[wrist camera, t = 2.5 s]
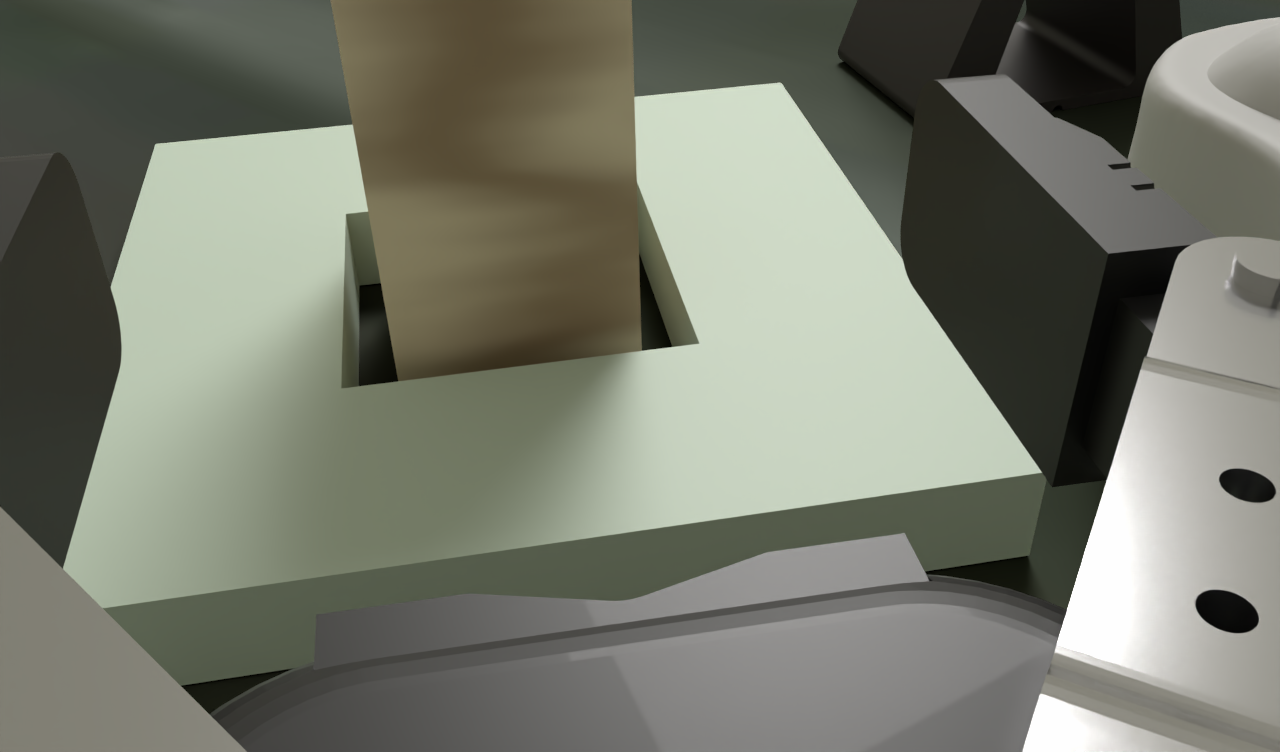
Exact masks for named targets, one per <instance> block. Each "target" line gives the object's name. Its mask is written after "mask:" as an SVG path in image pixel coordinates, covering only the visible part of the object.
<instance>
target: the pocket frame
mask: <svg viewBox="0 0 1280 752" xmlns="http://www.w3.org/2000/svg"><path fill="white" fill-rule="evenodd" d="M634 102H635V136H636V171H637V205H638V239H639V254H640V257H641V259H642V262H643V265H644V268H645V271H646V274H647V276H648V279H649V282H650V285H651V288H652V291H653V293H654V296H655V299H656V302H657V305H658V307H659V310H660V313H661V316H662V319H663V322H664V324H665V327H666V330H667V333H668V336H669V339H670V341H671V344H672V347H669V348H661V349H653V350H645V351H637V352H629V353H621V354H613V355H605V356H597V357H589V358H581V359H573V360H565V361H557V362H549V363H541V364H533V365H525V366H517V367H509V368H501V369H493V370H486V371H478V372H470V373H462V374H454V375H446V376H438V377H430V378H422V379H414V380H406V381H398V382H390V383H382V384H374V385H366V386H359V286H360V285H369V284H378V283H381V281H380V275H379V270H378V264H377V258H376V253H375V247H374V242H373V236H372V230H371V225H370V219H369V213H368V208H367V202H366V196H365V191H364V185H363V180H362V174H361V168H360V163H359V157H358V151H357V146H356V140H355V134H354V129H353V125H345V126H335V127H325V128H315V129H304V130H294V131H284V132H274V133H264V134H253V135H243V136H233V137H223V138H213V139H203V140H192V141H182V142H172V143H162V144H156V145H155V148H154V151H153V154H152V157H151V161H150V164H149V167H148V170H147V173H146V177H145V180H144V183H143V186H142V189H141V192H140V196H139V199H138V202H137V205H136V208H135V211H134V215H133V218H132V221H131V224H130V227H129V231H128V234H127V237H126V240H125V243H124V246H123V250H122V253H121V256H120V259H119V262H118V265H117V269H116V272H115V275H114V278H113V281H112V285H111V291H112V294H113V297H114V301H115V304H116V308H117V313H118V318H119V324H120V331H121V346H122V353H121V365H120V370H119V374H118V378H117V381H116V385H115V388H114V392H113V395H112V399H111V402H110V406H109V409H108V413H107V416H106V420H105V423H104V427H103V430H102V434H101V437H100V441H99V444H98V448H97V451H96V455H95V458H94V462H93V465H92V469H91V472H90V476H89V479H88V483H87V486H86V490H85V493H84V497H83V500H82V504H81V507H80V511H79V514H78V518H77V521H76V525H75V528H74V532H73V535H72V539H71V542H70V546H69V549H68V553H67V556H66V560H65V563H64V567H63V570H64V571H66V572H67V573H68V574H69V575H70V576H71V577H72V578H73V579H74V580H75V581H76V582H77V583H78V584H79V585H80V586H81V587H82V588H83V589H84V590H85V591H86V592H87V593H88V594H89V595H90V596H91V597H92V598H93V599H94V600H95V601H96V602H97V603H98V604H99V605H100V606H101V607H102V608H103V609H104V610H105V611H106V612H107V613H108V614H109V615H110V616H111V617H112V618H113V619H114V620H115V621H116V622H117V623H118V624H119V625H120V626H121V627H122V628H123V629H124V630H125V631H126V632H127V633H128V634H129V635H130V636H131V637H132V638H133V639H134V640H135V641H136V642H137V643H138V644H139V645H140V646H141V647H142V648H143V649H144V650H145V651H146V652H147V653H148V654H149V655H150V656H151V657H152V658H153V659H154V660H155V661H156V662H157V663H158V664H159V665H160V666H161V667H162V668H163V669H164V670H165V671H166V672H167V673H168V674H169V675H170V676H171V677H172V678H173V679H174V680H175V681H176V682H177V683H178V684H179V685H180V686H182V685H188V684H195V683H201V682H208V681H214V680H221V679H227V678H234V677H240V676H247V675H253V674H260V673H266V672H273V671H279V670H286V669H292V668H297V667H299V666H302V665H305V664H308V663H310V662H313V661H314V652H315V631H316V614H323V613H330V612H338V611H345V610H352V609H359V608H367V607H374V606H381V605H388V604H395V603H403V602H410V601H417V600H424V599H432V598H439V597H446V596H453V595H461V594H468V593H469V594H488V595H508V596H527V597H547V598H566V599H586V600H605V601H622V600H629V599H634V598H638V597H642V596H645V595H647V594H650V593H653V592H656V591H659V590H662V589H664V588H667V587H670V586H673V585H676V584H679V583H681V582H684V581H687V580H690V579H693V578H696V577H698V576H701V575H704V574H707V573H710V572H712V571H715V570H718V569H721V568H724V567H727V566H729V565H732V564H735V563H738V562H741V561H744V560H746V559H749V558H752V557H755V556H758V555H761V554H763V553H766V552H772V551H779V550H786V549H794V548H801V547H808V546H815V545H823V544H830V543H837V542H844V541H851V540H859V539H866V538H873V537H880V536H888V535H895V534H902V533H905V535H906V537H907V539H908V541H909V542H910V544H911V546H912V548H913V550H914V552H915V554H916V556H917V558H918V560H919V562H920V564H921V566H922V567H923V569H924V571H931V570H937V569H944V568H950V567H957V566H964V565H970V564H977V563H983V562H990V561H996V560H1003V559H1009V558H1016V557H1022V556H1029V554H1030V550H1031V545H1032V541H1033V537H1034V532H1035V528H1036V523H1037V519H1038V515H1039V510H1040V506H1041V502H1042V497H1043V493H1044V488H1045V484H1046V480H1047V479H1046V478H1045V476H1044V475H1043V473H1042V472H1041V470H1040V469H1039V468H1038V466H1037V465H1036V463H1035V462H1034V460H1033V459H1032V457H1031V456H1030V455H1029V453H1028V452H1027V450H1026V449H1025V447H1024V446H1023V445H1022V443H1021V442H1020V440H1019V439H1018V437H1017V436H1016V434H1015V433H1014V432H1013V430H1012V429H1011V427H1010V426H1009V424H1008V423H1007V422H1006V420H1005V419H1004V417H1003V416H1002V414H1001V413H1000V411H999V410H998V409H997V407H996V406H995V404H994V403H993V401H992V400H991V399H990V397H989V396H988V394H987V393H986V391H985V390H984V388H983V387H982V386H981V384H980V383H979V381H978V380H977V378H976V377H975V376H974V374H973V373H972V371H971V370H970V368H969V367H968V365H967V364H966V363H965V361H964V360H963V358H962V357H961V355H960V354H959V353H958V351H957V350H956V348H955V347H954V345H953V344H952V342H951V341H950V340H949V338H948V337H947V335H946V334H945V332H944V331H943V330H942V328H941V327H940V325H939V324H938V322H937V321H936V319H935V318H934V317H933V315H932V314H931V312H930V311H929V309H928V308H927V307H926V305H925V304H924V302H923V301H922V299H921V298H920V296H919V295H918V294H917V292H916V291H915V289H914V288H913V286H912V285H911V283H910V281H909V279H908V276H907V273H906V270H905V267H904V263H903V260H902V258H901V257H900V255H899V254H898V252H897V251H896V249H895V248H894V247H893V245H892V244H891V242H890V241H889V239H888V238H887V236H886V235H885V233H884V232H883V231H882V229H881V228H880V226H879V225H878V223H877V222H876V220H875V219H874V217H873V216H872V215H871V213H870V212H869V210H868V209H867V207H866V206H865V204H864V203H863V201H862V200H861V199H860V197H859V196H858V194H857V193H856V191H855V190H854V188H853V187H852V185H851V184H850V183H849V181H848V180H847V178H846V177H845V175H844V174H843V172H842V171H841V169H840V168H839V167H838V165H837V164H836V162H835V161H834V159H833V158H832V156H831V155H830V153H829V152H828V151H827V149H826V148H825V146H824V145H823V143H822V142H821V140H820V139H819V137H818V136H817V135H816V133H815V132H814V130H813V129H812V127H811V126H810V124H809V123H808V121H807V120H806V119H805V117H804V116H803V114H802V113H801V111H800V110H799V108H798V107H797V105H796V104H795V103H794V101H793V100H792V98H791V97H790V95H789V94H788V92H787V91H786V89H785V88H784V87H783V85H782V84H781V83H772V84H762V85H752V86H742V87H732V88H722V89H711V90H701V91H691V92H681V93H671V94H661V95H650V96H640V97H634Z"/></svg>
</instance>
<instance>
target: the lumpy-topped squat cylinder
mask: <svg viewBox="0 0 1280 752" xmlns="http://www.w3.org/2000/svg"><path fill="white" fill-rule="evenodd" d="M1127 160H1128V161H1129V162H1131V168H1138V169H1139V170H1140V171H1141V172H1142V173H1143V174H1145V175H1146V176H1147V177H1148V178H1149V179H1150V180H1151V181H1153V182H1154V188H1155V189H1158V188H1161V189H1162V190H1163V191H1164V192H1165V193H1167V194H1168V195H1169V196H1170V197H1171V198H1172V199H1173V200H1175V201H1176V202H1177V203H1178V204H1179V205H1180V206H1182V207H1183V208H1184V209H1185V210H1186V211H1187V212H1188V213H1190V214H1191V215H1192V216H1193V217H1194V218H1195V219H1197V220H1198V221H1199V222H1200V223H1201V224H1202V225H1204V226H1205V227H1206V228H1207V229H1208V230H1209V231H1210V232H1212V233H1213V234H1214V235H1215V236H1216V237H1217V238H1219V237H1255V238H1264V239H1270V240H1276V241H1280V17H1278V18H1271V19H1263V20H1256V21H1250V22H1246V23H1241V24H1234V25H1228V26H1223V27H1220V28H1216V29H1212V30H1207V31H1204V32H1200V33H1196V34H1192V35H1189V36H1187V37H1185V38H1183V39H1181V40H1179V41H1177V42H1176V43H1174V44H1173V45H1172V46H1170V47H1169V48H1168V49H1167V50H1166V51H1165V52H1164V53H1163V54H1162V55H1161V57H1160V58H1159V59H1158V60H1157V61H1156V63H1155V65H1154V66H1153V68H1152V70H1151V72H1150V74H1149V77H1148V79H1147V82H1146V85H1145V89H1144V92H1143V96H1142V101H1141V106H1140V111H1139V116H1138V120H1137V124H1136V129H1135V133H1134V137H1133V140H1132V144H1131V148H1130V152H1129V155H1128V159H1127Z"/></svg>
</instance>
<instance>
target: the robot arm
mask: <svg viewBox="0 0 1280 752" xmlns="http://www.w3.org/2000/svg"><path fill="white" fill-rule="evenodd" d="M901 250H902V257H903V263H904V267H905V270H906V273H907V276H908V279H909V281H910V283H911V285H912V286H913V288H914V289H915V291H916V292H917V294H918V295H919V296H920V298H921V299H922V301H923V302H924V304H925V305H926V307H927V308H928V309H929V311H930V312H931V314H932V315H933V317H934V318H935V319H936V321H937V322H938V324H939V325H940V327H941V328H942V330H943V331H944V332H945V334H946V335H947V337H948V338H949V340H950V341H951V342H952V344H953V345H954V347H955V348H956V350H957V351H958V353H959V354H960V355H961V357H962V358H963V360H964V361H965V363H966V364H967V365H968V367H969V368H970V370H971V371H972V373H973V374H974V376H975V377H976V378H977V380H978V381H979V383H980V384H981V386H982V387H983V388H984V390H985V391H986V393H987V394H988V396H989V397H990V399H991V400H992V401H993V403H994V404H995V406H996V407H997V409H998V410H999V411H1000V413H1001V414H1002V416H1003V417H1004V419H1005V420H1006V422H1007V423H1008V424H1009V426H1010V427H1011V429H1012V430H1013V432H1014V433H1015V434H1016V436H1017V437H1018V439H1019V440H1020V442H1021V443H1022V445H1023V446H1024V447H1025V449H1026V450H1027V452H1028V453H1029V455H1030V456H1031V457H1032V459H1033V460H1034V462H1035V463H1036V465H1037V466H1038V468H1039V469H1040V470H1041V472H1042V473H1043V475H1044V476H1045V478H1046V479H1047V480H1048V482H1049V483H1050V485H1051V486H1052V487H1056V486H1064V485H1071V484H1078V483H1086V482H1093V481H1101V480H1107V482H1106V485H1105V488H1104V491H1103V495H1102V498H1101V501H1100V505H1099V508H1098V511H1097V514H1096V518H1095V521H1094V524H1093V527H1092V531H1091V534H1090V537H1089V541H1088V544H1087V547H1086V550H1085V554H1084V557H1083V560H1082V564H1081V567H1080V570H1079V573H1078V577H1077V580H1076V583H1075V586H1074V590H1073V593H1072V596H1071V600H1070V603H1069V606H1068V609H1067V610H1066V609H1064V608H1061V607H1059V606H1057V605H1054V604H1052V603H1050V602H1047V601H1045V600H1043V599H1040V598H1036V597H1033V596H1030V595H1027V594H1024V593H1021V592H1018V591H1015V590H1012V589H1009V588H1005V587H1001V586H997V585H992V584H988V583H984V582H980V581H975V580H969V579H962V578H955V577H948V576H940V575H926V573H925V571H924V569H923V567H922V566H921V564H920V562H919V560H918V558H917V556H916V554H915V552H914V550H913V548H912V546H911V544H910V542H909V541H908V539H907V537H906V535H905V533H902V534H895V535H888V536H880V537H873V538H866V539H859V540H851V541H844V542H837V543H830V544H823V545H815V546H808V547H801V548H794V549H786V550H779V551H772V552H766V553H763V554H761V555H758V556H755V557H752V558H749V559H746V560H744V561H741V562H738V563H735V564H732V565H729V566H727V567H724V568H721V569H718V570H715V571H712V572H710V573H707V574H704V575H701V576H698V577H696V578H693V579H690V580H687V581H684V582H681V583H679V584H676V585H673V586H670V587H667V588H664V589H662V590H659V591H656V592H653V593H650V594H647V595H645V596H642V597H638V598H634V599H629V600H622V601H605V600H586V599H566V598H547V597H527V596H508V595H488V594H469V593H468V594H461V595H453V596H446V597H439V598H432V599H424V600H417V601H410V602H403V603H395V604H388V605H381V606H374V607H367V608H359V609H352V610H345V611H338V612H330V613H323V614H316V631H315V652H314V661H313V662H310V663H308V664H305V665H302V666H299V667H297V668H294V669H291V670H289V671H287V672H284V673H282V674H280V675H278V676H276V677H274V678H271V679H269V680H267V681H265V682H263V683H260V684H258V685H256V686H254V687H253V688H251V689H249V690H247V691H246V692H244V693H242V694H240V695H239V696H237V697H235V698H233V699H232V700H230V701H228V702H226V703H225V704H223V705H222V706H220V707H219V708H217V709H216V710H215V711H213V712H212V713H210V714H208V713H207V712H206V711H205V710H204V709H203V708H202V707H201V706H200V705H199V704H198V703H197V702H196V701H195V700H194V699H193V698H192V697H191V696H190V695H189V694H188V693H187V692H186V691H185V690H184V689H183V688H182V687H181V686H180V685H179V684H178V683H177V682H176V681H175V680H174V679H173V678H172V677H171V676H170V675H169V674H168V673H167V672H166V671H165V670H164V669H163V668H162V667H161V666H160V665H159V664H158V663H157V662H156V661H155V660H154V659H153V658H152V657H151V656H150V655H149V654H148V653H147V652H146V651H145V650H144V649H143V648H142V647H141V646H140V645H139V644H138V643H137V642H136V641H135V640H134V639H133V638H132V637H131V636H130V635H129V634H128V633H127V632H126V631H125V630H124V629H123V628H122V627H121V626H120V625H119V624H118V623H117V622H116V621H115V620H114V619H113V618H112V617H111V616H110V615H109V614H108V613H107V612H106V611H105V610H104V609H103V608H102V607H101V606H100V605H99V604H98V603H97V602H96V601H95V600H94V599H93V598H92V597H91V596H90V595H89V594H88V593H87V592H86V591H85V590H84V589H83V588H82V587H81V586H80V585H79V584H78V583H77V582H76V581H75V580H74V579H73V578H72V577H71V576H70V575H69V574H68V573H67V572H66V571H64V570H63V567H64V563H65V560H66V556H67V553H68V549H69V546H70V542H71V539H72V535H73V532H74V528H75V525H76V521H77V518H78V514H79V511H80V507H81V504H82V500H83V497H84V493H85V490H86V486H87V483H88V479H89V476H90V472H91V469H92V465H93V462H94V458H95V455H96V451H97V448H98V444H99V441H100V437H101V434H102V430H103V427H104V423H105V420H106V416H107V413H108V409H109V406H110V402H111V399H112V395H113V392H114V388H115V385H116V381H117V378H118V374H119V370H120V365H121V353H122V346H121V331H120V324H119V318H118V313H117V308H116V304H115V301H114V297H113V294H112V291H111V288H110V284H109V281H108V278H107V275H106V272H105V268H104V265H103V262H102V259H101V255H100V252H99V249H98V246H97V242H96V239H95V236H94V233H93V230H92V226H91V223H90V220H89V217H88V213H87V210H86V207H85V204H84V200H83V197H82V194H81V191H80V187H79V184H78V181H77V179H76V176H75V173H74V171H73V169H72V167H71V165H70V163H69V162H68V160H67V159H66V158H65V157H64V156H63V155H62V154H61V153H47V154H35V155H24V156H12V157H0V752H1280V241H1276V240H1270V239H1264V238H1255V237H1219V238H1217V237H1216V236H1215V235H1214V234H1213V233H1212V232H1210V231H1209V230H1208V229H1207V228H1206V227H1205V226H1204V225H1202V224H1201V223H1200V222H1199V221H1198V220H1197V219H1195V218H1194V217H1193V216H1192V215H1191V214H1190V213H1188V212H1187V211H1186V210H1185V209H1184V208H1183V207H1182V206H1180V205H1179V204H1178V203H1177V202H1176V201H1175V200H1173V199H1172V198H1171V197H1170V196H1169V195H1168V194H1167V193H1165V192H1164V191H1163V190H1162V189H1161V188H1158V189H1155V188H1154V182H1153V181H1151V180H1150V179H1149V178H1148V177H1147V176H1146V175H1145V174H1143V173H1142V172H1141V171H1140V170H1139V169H1138V168H1131V162H1129V161H1128V160H1127V159H1126V158H1125V157H1124V156H1123V155H1121V154H1120V153H1119V152H1118V151H1117V150H1116V149H1114V148H1113V147H1112V146H1111V145H1110V144H1109V143H1108V142H1106V141H1105V140H1104V139H1103V138H1102V137H1099V136H1097V135H1095V134H1093V133H1090V132H1088V131H1086V130H1084V129H1081V128H1079V127H1077V126H1075V125H1072V124H1070V123H1068V122H1066V121H1063V120H1061V119H1059V118H1054V117H1053V116H1052V115H1051V114H1050V113H1049V112H1048V111H1047V110H1045V109H1044V108H1043V107H1042V106H1041V105H1040V104H1039V103H1038V102H1036V101H1035V100H1034V99H1033V98H1032V97H1031V96H1030V95H1029V94H1028V93H1026V92H1025V91H1024V90H1023V89H1022V88H1021V87H1020V86H1019V85H1017V84H1016V83H1015V82H1014V81H1013V80H1012V79H1011V78H1010V77H1008V76H1007V75H1004V74H997V75H985V76H973V77H961V78H950V79H938V80H930V81H928V82H927V83H926V84H925V85H924V86H923V88H922V90H921V91H920V94H919V97H918V100H917V104H916V110H915V117H914V125H913V133H912V141H911V149H910V157H909V165H908V173H907V180H906V188H905V196H904V204H903V212H902V220H901Z"/></svg>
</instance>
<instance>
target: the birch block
mask: <svg viewBox="0 0 1280 752" xmlns="http://www.w3.org/2000/svg"><path fill="white" fill-rule="evenodd" d="M331 5H332V10H333V16H334V22H335V27H336V33H337V39H338V44H339V50H340V56H341V61H342V67H343V72H344V78H345V84H346V89H347V95H348V101H349V106H350V112H351V118H352V123H353V129H354V134H355V140H356V146H357V151H358V157H359V163H360V168H361V174H362V180H363V185H364V191H365V196H366V202H367V208H368V213H369V219H370V225H371V230H372V236H373V242H374V247H375V253H376V258H377V264H378V270H379V275H380V281H381V287H382V292H383V298H384V304H385V309H386V315H387V320H388V326H389V332H390V337H391V343H392V349H393V354H394V360H395V366H396V371H397V377H398V381H406V380H414V379H422V378H430V377H438V376H446V375H454V374H462V373H470V372H478V371H486V370H493V369H501V368H509V367H517V366H525V365H533V364H541V363H549V362H557V361H565V360H573V359H581V358H589V357H597V356H605V355H613V354H621V353H629V352H637V351H642V341H641V307H640V273H639V239H638V205H637V171H636V136H635V102H634V68H633V34H632V0H331Z"/></svg>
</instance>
